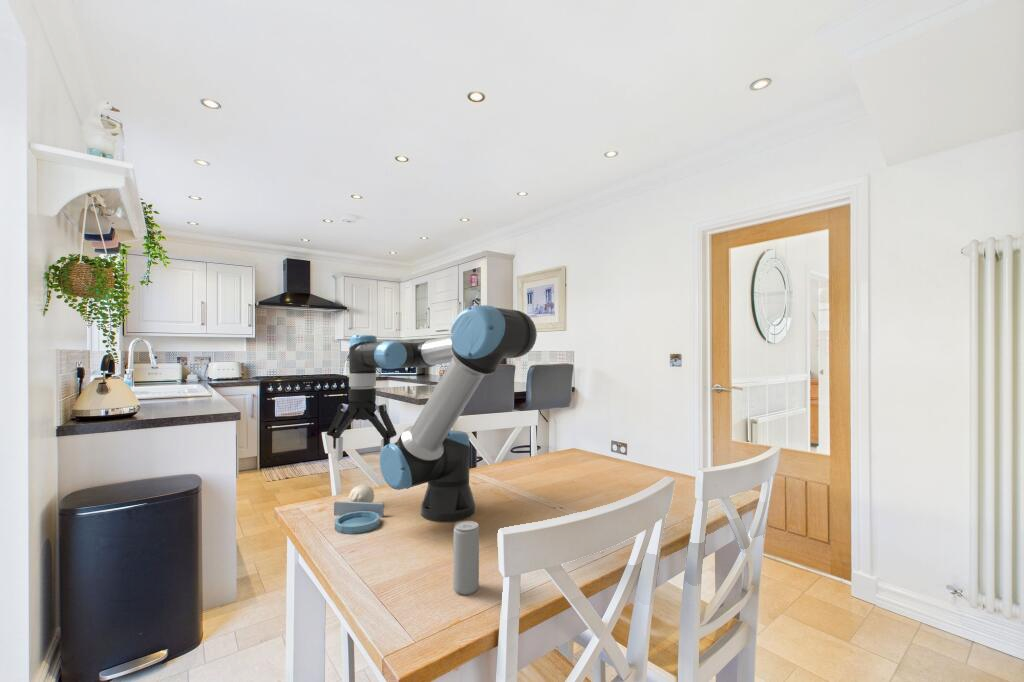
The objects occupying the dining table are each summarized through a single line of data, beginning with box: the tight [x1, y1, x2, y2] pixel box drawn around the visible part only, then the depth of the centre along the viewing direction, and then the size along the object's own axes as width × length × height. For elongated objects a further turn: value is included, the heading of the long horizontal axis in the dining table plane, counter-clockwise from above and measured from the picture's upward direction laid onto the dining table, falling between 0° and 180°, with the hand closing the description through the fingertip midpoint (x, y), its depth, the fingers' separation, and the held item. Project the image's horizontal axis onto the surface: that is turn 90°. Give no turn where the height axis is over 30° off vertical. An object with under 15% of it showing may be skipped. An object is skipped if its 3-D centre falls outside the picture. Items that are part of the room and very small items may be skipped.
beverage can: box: [452, 520, 480, 596], centre depth 84 cm, size 5×5×12 cm
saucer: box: [334, 511, 381, 535], centre depth 115 cm, size 11×11×2 cm
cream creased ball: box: [347, 484, 375, 503], centre depth 128 cm, size 7×7×7 cm
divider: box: [333, 500, 385, 518], centre depth 123 cm, size 14×1×4 cm, turn 83°
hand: (361, 460), depth 129 cm, fingers open, 13 cm apart
